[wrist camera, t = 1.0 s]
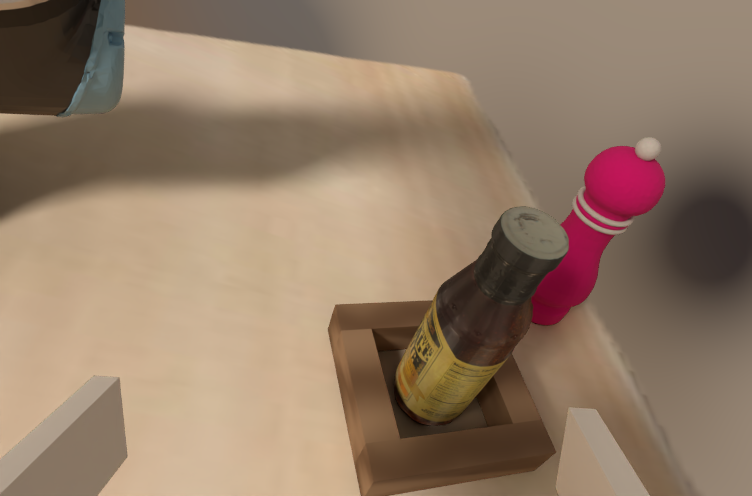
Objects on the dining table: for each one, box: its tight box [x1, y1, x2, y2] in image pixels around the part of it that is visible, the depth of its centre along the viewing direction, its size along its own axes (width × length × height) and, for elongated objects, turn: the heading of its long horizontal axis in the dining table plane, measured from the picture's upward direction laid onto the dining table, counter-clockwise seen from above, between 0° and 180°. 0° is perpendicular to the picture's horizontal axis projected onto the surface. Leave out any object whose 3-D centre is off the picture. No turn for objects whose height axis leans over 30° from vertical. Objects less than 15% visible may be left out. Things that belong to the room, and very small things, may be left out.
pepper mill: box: [531, 137, 665, 325], centre depth 46 cm, size 7×7×20 cm
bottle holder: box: [328, 301, 556, 496], centre depth 41 cm, size 14×14×4 cm
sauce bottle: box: [394, 206, 569, 426], centre depth 35 cm, size 7×6×20 cm
